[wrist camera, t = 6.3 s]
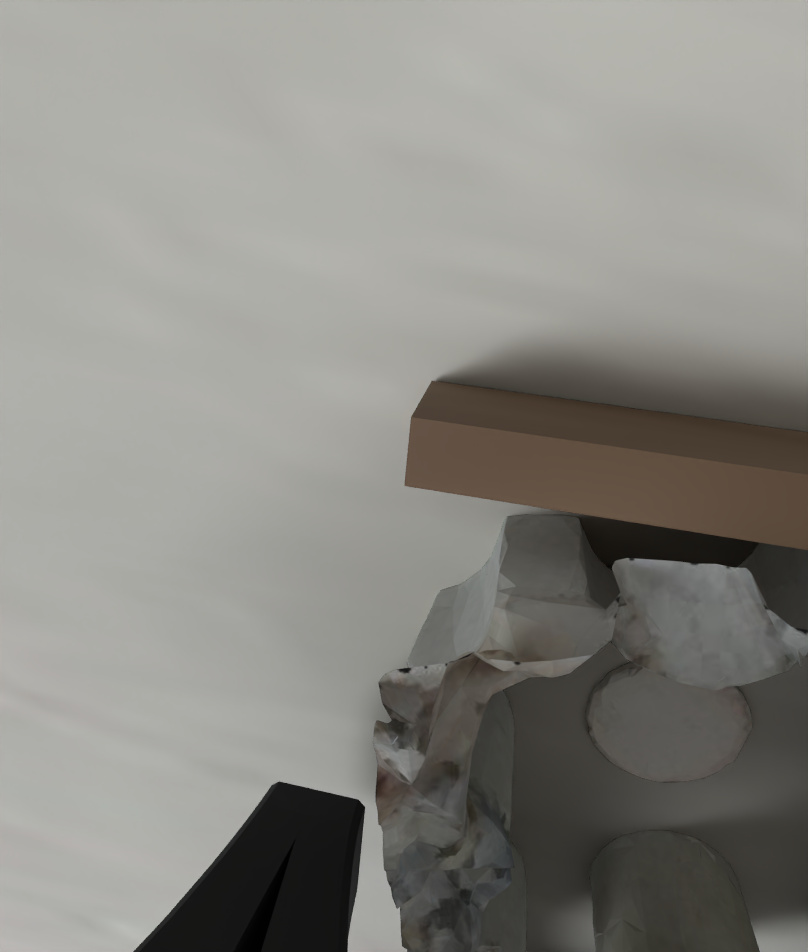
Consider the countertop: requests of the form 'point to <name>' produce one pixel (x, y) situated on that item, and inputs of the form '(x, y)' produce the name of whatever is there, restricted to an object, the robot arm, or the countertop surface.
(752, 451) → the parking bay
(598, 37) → the countertop surface
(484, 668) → the egg carton
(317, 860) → the robot arm
